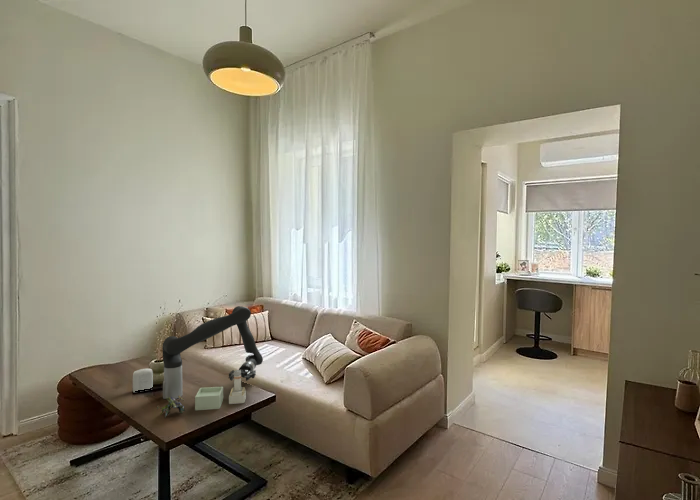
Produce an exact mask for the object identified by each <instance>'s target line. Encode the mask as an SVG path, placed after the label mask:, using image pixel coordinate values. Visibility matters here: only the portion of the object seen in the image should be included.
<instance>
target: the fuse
mask: <svg viewBox="0 0 700 500" xmlns="http://www.w3.org/2000/svg"><path fill="white" fill-rule="evenodd" d="M241 387H242V377H241V370H239V369H237V370H234V379H233V388H234V392H241Z"/></svg>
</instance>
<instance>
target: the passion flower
mask: <svg viewBox="0 0 700 500" xmlns="http://www.w3.org/2000/svg"><path fill="white" fill-rule="evenodd" d="M178 397H179V398H178V400H177V399H174V398H172V397H171V398H170V397H168V398H166V399H165V400H167V401H168V403H167V404H165V406H162V407H160V405H157V406H156V407H157V408H156V410H159V409H161V410H160V416H161V415H162V414H163V413H164V412H165V414H164V418H166V417H167V416H168V415H169V413H170V411H171V410H172V409H178V412H179V414H183V412H185V411H186V410H185V409H184V408H185V406H184V405H183V404H182V403H181V402H180V401H185V399H184V398H183V396H181V397H180V396H178Z"/></svg>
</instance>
